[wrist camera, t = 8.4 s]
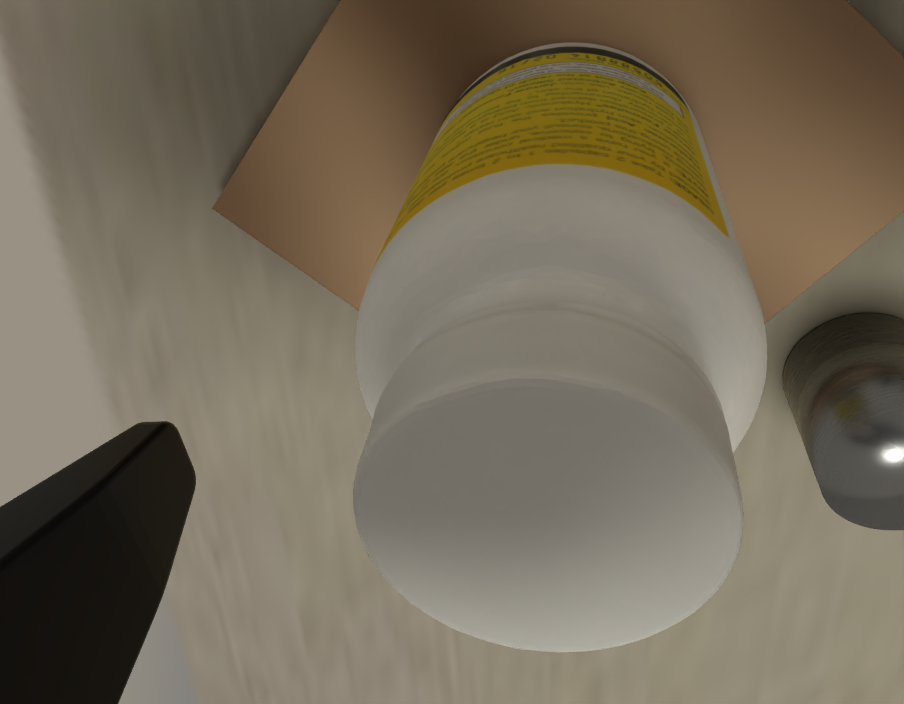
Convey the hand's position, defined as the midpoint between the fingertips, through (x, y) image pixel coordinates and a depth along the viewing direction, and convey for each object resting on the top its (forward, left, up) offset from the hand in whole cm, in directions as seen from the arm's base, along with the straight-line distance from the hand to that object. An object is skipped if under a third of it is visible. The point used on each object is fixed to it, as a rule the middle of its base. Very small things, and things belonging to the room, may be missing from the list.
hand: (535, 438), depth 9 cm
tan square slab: (0, 0, -9) cm, 9 cm away
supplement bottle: (0, 0, -9) cm, 9 cm away
